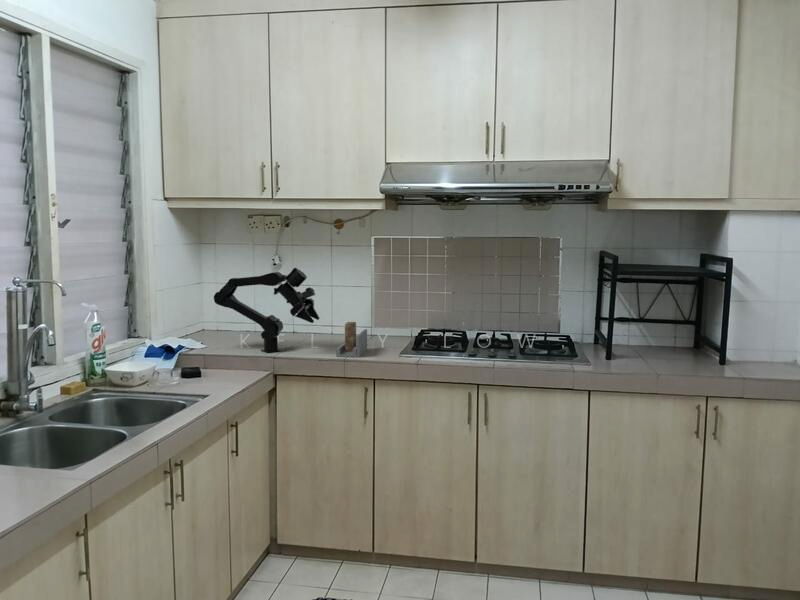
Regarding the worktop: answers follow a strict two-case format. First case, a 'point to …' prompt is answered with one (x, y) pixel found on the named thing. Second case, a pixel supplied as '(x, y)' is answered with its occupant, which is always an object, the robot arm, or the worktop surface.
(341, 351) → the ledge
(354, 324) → the brown wooden block
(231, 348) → the worktop surface
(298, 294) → the robot arm
